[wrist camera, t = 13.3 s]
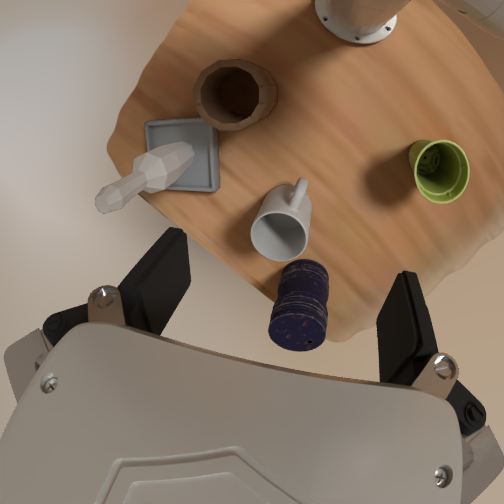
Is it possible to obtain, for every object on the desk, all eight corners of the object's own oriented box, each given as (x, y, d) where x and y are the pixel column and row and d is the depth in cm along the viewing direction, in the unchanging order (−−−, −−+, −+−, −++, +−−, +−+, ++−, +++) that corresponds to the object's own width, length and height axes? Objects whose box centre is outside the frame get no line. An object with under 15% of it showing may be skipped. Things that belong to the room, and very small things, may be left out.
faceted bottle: (198, 136, 44) (117, 179, 26) (199, 171, 48) (127, 231, 30) (166, 136, 45) (78, 179, 27) (168, 169, 49) (89, 226, 31)
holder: (216, 66, 38) (192, 63, 30) (277, 64, 36) (267, 58, 28) (217, 122, 43) (195, 130, 36) (276, 123, 41) (266, 131, 34)
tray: (151, 120, 45) (144, 122, 43) (217, 116, 43) (211, 118, 41) (158, 184, 52) (152, 188, 50) (220, 187, 50) (215, 192, 48)
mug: (299, 235, 52) (292, 270, 43) (257, 215, 51) (241, 247, 43) (329, 180, 44) (330, 206, 36) (282, 158, 44) (271, 178, 35)
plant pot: (451, 135, 34) (474, 147, 27) (443, 187, 39) (462, 207, 32) (401, 125, 36) (418, 134, 29) (396, 179, 41) (409, 199, 34)
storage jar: (272, 279, 59) (256, 333, 47) (300, 249, 53) (290, 303, 41) (308, 303, 60) (301, 358, 48) (339, 276, 54) (339, 333, 42)
